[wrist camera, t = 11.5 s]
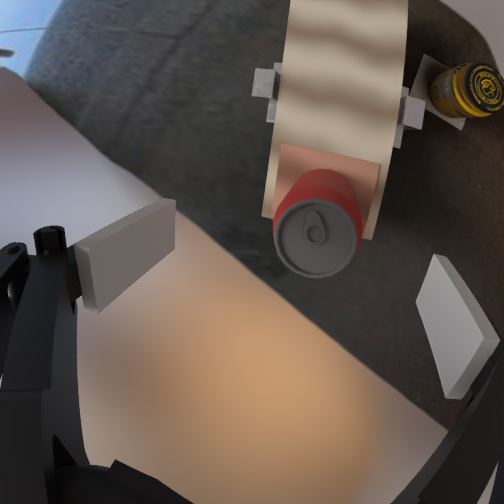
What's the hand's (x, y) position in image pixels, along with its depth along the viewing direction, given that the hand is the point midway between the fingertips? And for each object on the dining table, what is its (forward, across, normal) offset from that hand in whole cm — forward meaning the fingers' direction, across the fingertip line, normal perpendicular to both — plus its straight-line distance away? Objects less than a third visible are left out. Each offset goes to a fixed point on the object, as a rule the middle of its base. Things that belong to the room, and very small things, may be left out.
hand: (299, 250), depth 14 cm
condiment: (+27, +14, +15) cm, 34 cm away
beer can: (+18, +1, -1) cm, 18 cm away
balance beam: (+19, +1, +10) cm, 21 cm away
